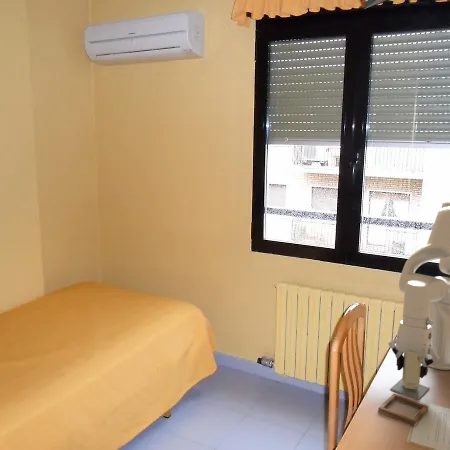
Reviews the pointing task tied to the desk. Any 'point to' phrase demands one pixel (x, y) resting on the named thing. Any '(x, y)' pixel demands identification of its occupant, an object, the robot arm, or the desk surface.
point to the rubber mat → (409, 390)
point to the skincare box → (411, 370)
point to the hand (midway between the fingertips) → (411, 372)
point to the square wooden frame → (399, 417)
